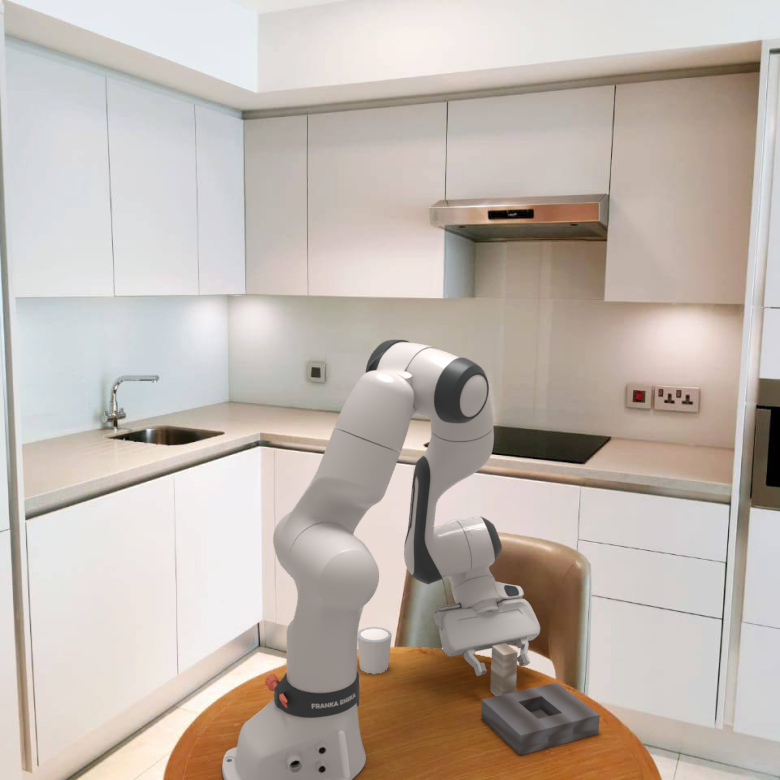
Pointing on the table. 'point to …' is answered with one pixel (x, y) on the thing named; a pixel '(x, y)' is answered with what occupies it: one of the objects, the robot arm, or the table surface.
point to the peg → (503, 669)
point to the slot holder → (539, 718)
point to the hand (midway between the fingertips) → (504, 669)
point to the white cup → (374, 649)
